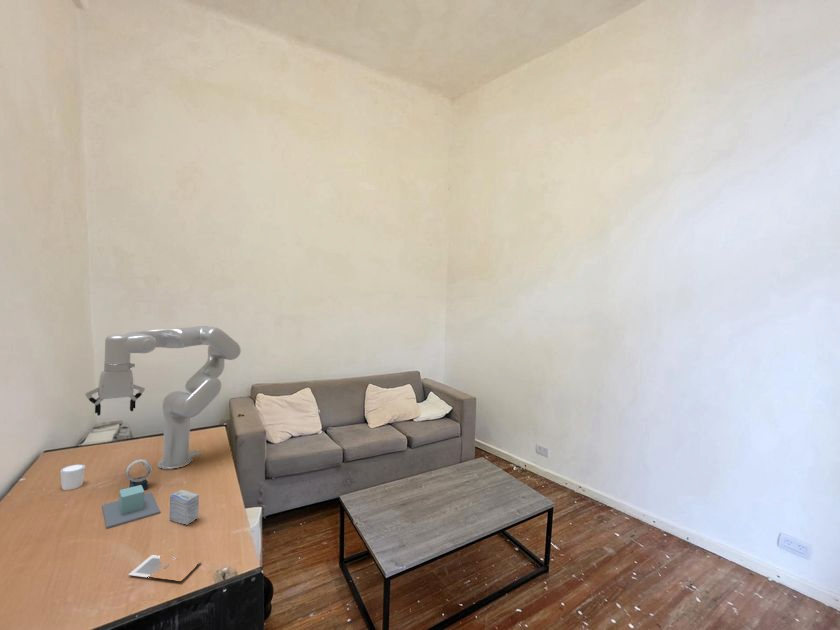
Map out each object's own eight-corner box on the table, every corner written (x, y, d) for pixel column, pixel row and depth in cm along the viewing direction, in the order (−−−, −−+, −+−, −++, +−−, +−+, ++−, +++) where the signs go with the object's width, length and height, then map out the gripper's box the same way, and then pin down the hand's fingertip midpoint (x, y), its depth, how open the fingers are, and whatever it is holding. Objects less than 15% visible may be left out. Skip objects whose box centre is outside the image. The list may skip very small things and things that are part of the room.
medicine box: (198, 519, 124) (199, 494, 123) (186, 526, 120) (187, 500, 119) (181, 513, 126) (182, 488, 126) (168, 520, 122) (169, 495, 122)
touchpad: (181, 586, 96) (181, 578, 96) (127, 578, 97) (128, 570, 97) (201, 565, 104) (201, 557, 104) (151, 558, 105) (152, 551, 105)
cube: (140, 501, 131) (141, 484, 131) (143, 508, 127) (144, 491, 126) (118, 507, 127) (119, 490, 126) (121, 515, 122) (121, 497, 122)
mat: (151, 493, 137) (151, 492, 137) (160, 513, 126) (160, 511, 126) (102, 506, 127) (102, 504, 127) (106, 528, 116) (106, 526, 116)
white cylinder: (72, 491, 135) (73, 472, 135) (54, 490, 135) (54, 471, 135) (89, 482, 142) (90, 464, 142) (72, 481, 142) (72, 463, 142)
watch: (153, 487, 141) (154, 459, 141) (127, 495, 135) (128, 465, 135) (149, 482, 145) (150, 454, 145) (123, 489, 139) (124, 460, 138)
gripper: (143, 364, 148) (142, 406, 149) (85, 367, 136) (84, 413, 137) (147, 367, 143) (145, 411, 143) (87, 371, 131) (85, 419, 131)
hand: (115, 412), depth 140 cm, fingers open, 9 cm apart
